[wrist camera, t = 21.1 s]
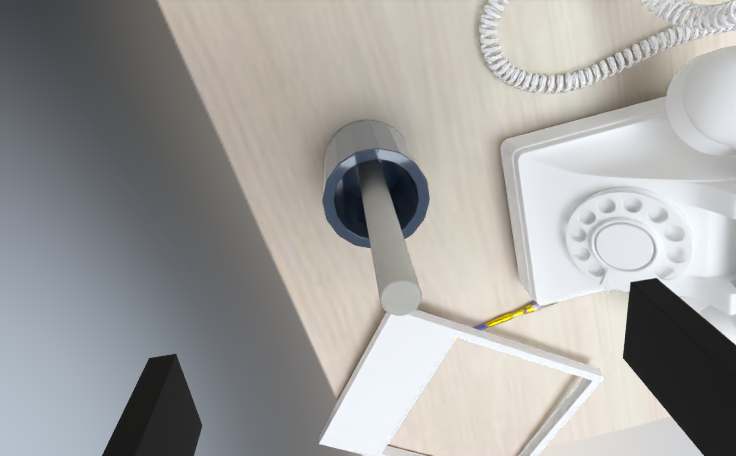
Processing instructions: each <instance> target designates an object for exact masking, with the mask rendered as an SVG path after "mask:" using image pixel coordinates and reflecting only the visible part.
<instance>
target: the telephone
mask: <svg viewBox="0 0 736 456" xmlns="http://www.w3.org/2000/svg"><path fill="white" fill-rule="evenodd" d="M488 1H489V3H490V4H492V5H489V4H486V5H485V6H484V9H483V11H484V12H485V13H487V14H483V15H481V19H480V21H481V22H482V23H484V24H482V25H480V26H479V32H480V33H482V35H480V36H479V39H480V43H483V44H482V45H481V50H482V52H483V53H485V54H484V59H485V61H486V62H488V64H487V65H488V67H489V69H492V72H493V74H494V75H495V76H498V78H499V79H500V80H503V81H504V83H506V84H510V86H512V87H517V89H520V90H525V91H527V92H532V91H533V92H534V93H543V94H549V93H550V92H551V93H552V94H557V93H559V92H561V93H566V92H569V91H575V90H576V89H582V88H583V87H587V86H590V85H591V84H595V83H597V82H599V80H604V79H606V78H607V77H611V76H613V75H614V74H615V73H619V72H621V71H623V69H627V68H629V67H631V66H632V64H633V65H635V64H637V63H639V62H640V61H641V60H645V59H647V58H648V57H649V56H653V55H656V53H660V52H662V51H664V50H665V49H669V48H671V47H672V46H677V45H679V44H683V43H685V42H687V41H688V42H689V41H693V40H695V39H699V38H703V37H707V36H710V35H712V34H719V33H721V32H722V33H723V32H727V31H734V30H736V18H735V16H736V0H731V1H728V2H725V3H722V4H716V5H699V4H693V3H689V2H686V1H684V0H675V3H674V4H673V5H672V6H671V7H670V8H669V9H668V7H669V5H670V3H671V1H673V0H666V1H664V2H663V3H662V4H661V5H660V6H659V8H658V9H657V10H656V12H655V15H656V16H658V17H660V16H662V15H663V14H664V13H665V11H666V10H667V9H668V10H667V11H666V13H665V15H664V17H663V20H665V21H667V22H668V21H670V20H671V19H672V20H671V23H672V24H674V25H679V24H680V27H679V26H675V27H673V28H672V29H667V30H665V32H664V33H663V32H660V33H657V35H656V37H655V36H651V37H649V38H648V42H649V43H648V42H647V40H643V41H641V42H640V47H641V49H642V51H643V52H644V54H645V57H642V53H641V49H640V47H639V45H638V44H634V45H632V52H633V54H634V55H635V57H636V58H637V61H634V60H633V55H632V52H631V50H630V49H629V48H626V49H625V50H624V51H623V53H624V56H625V58H626V60H627V61H628V62H629V63H628V65H626V64H625V61H624V57H623V55H622V54H621V53H620V52H619V53H617V54H615V58H616V61H617V62H618V64H619V65H620V70H619V69H617V68H616V62H615V60H614V58H613V57H612V56H611V57H609V58H607V62H608V65H609V67H610V68H611V69H612V73H609V72H608V67H607V64H606V62H605V61H604V60H602V61H600V62H599V66H600V68H601V70H602V72H603V73H604V77H602V76H600V70H599V67H598V65H597V64H594V65H592V71H593V73H594V75H595V77H596V80H593V76H592V71H591V69H590V68H589V67H587V68H585V70H584V71H585V74H584V72H583V70H579V71H578V75H577V73H576V72H573V73H572V74H570V73H568V74H566V76H565V81H566V85H567V87H566V89H565V90H564V88H563V75H562V74H561V75H557V78H556V83H557V89H556V91H555V90H554V89H553V87H554V83H555V77H554V75H550V76H549V77H548V89H547V91H545V89H544V87H545V85H546V81H547V77H546V75H542V76H541V77H540V81H539V75H538V74H534V76H533V78H532V73H530V72H528V73H527V74H526V71H524V70H522V71H521V72H520V68H516V69H515V66H514V65H511V63H510V62H506V61H507V58H506V57H504V58H502V59H501V60H499V61H498V62H497V63H496V64H495V65H491V64H492V63H493V61H495V60H497V59H499V58H501V57H502V56H503V55H504V53H503V52H499V53H497V54H496V55H494V56H493V57H488V56H489V55H490V54H491V53H492V52H495V51H498V50H500V49H501V46H500V45H497V46H495V47H493V48H485V47H487V46H488V45H490V44H492V43H496V42H499V38H494V39H484V38H486V37H488V36H491V35H495V34H498V33H499V31H498V30H487V29H484V28H488V27H495V26H499V23H497V22H493V21H490V20H488V19H500V18H501V16H500V15H498V14H496V13H495V12H493V11H491V10H495V11H499V12H503V11H504V8H503V7H502V6H501V5H499V4H498V3H497V2H499V3H502V4H504V5H507V4H508V3H509V1H508V0H488ZM647 1H648V0H640V2H639V4H641V5H642V6H643V5H645V4H646V3H647ZM660 1H661V0H653V1H652V2H651V3H650V4H649V5H648V7H647V9H648V10H649V11H653V10H654V9H655V8H656V6H657V5H658V4H659V2H660ZM681 3H683V5H681V6H680V4H681ZM728 5H729V6H728ZM679 6H680V7H679ZM688 6H689V7H688ZM696 7H697V8H696ZM733 8H734V10H735V11H734V12H733ZM682 9H683V10H682ZM714 9H715V10H714ZM681 10H682V12H681V14H680V16H679V18H678V19H677V16H678V14H679V13H680V11H681ZM690 10H691V14H690V16H689V18H688V21H687V22H686V23H684V21H685V18H686V16H687V14H688V12H689V11H690ZM698 10H699V11H700V12H699V14H698V15H697V18H696V20H694V18H695V15H696V13H697V11H698ZM706 10H708V11H707V12H706V14H705V11H706ZM713 10H714V11H713ZM725 11H726V13H725ZM676 19H677V20H676ZM693 20H694V21H693ZM702 23H703V24H704V27H702ZM693 24H694V26H693ZM711 25H713V27H711ZM720 25H721V26H720ZM732 27H733V29H732ZM684 28H685V30H686V34H685V31H684ZM716 29H717V30H718V31H717V32H715V31H716ZM724 29H726V30H724ZM676 30H677V32H678V38H677V36H676ZM694 30H695V32H694ZM708 31H709V34H707V32H708ZM668 33H669V35H670V38H669V35H668ZM699 33H700V34H701V36H698V35H699ZM690 35H691V36H692V38H691V39H690V38H689V37H690ZM661 39H662V40H661ZM682 39H684V40H683V41H682ZM674 41H675V42H677V43H676V44H674ZM667 43H668V44H669V46H666V45H667ZM658 44H659V45H660V47H661V50H659V49H658V48H659V45H658ZM649 45H650V46H649ZM650 47H651V49H652V50H653V51H654V52H653V53H650ZM503 64H504V65H503ZM502 65H503V66H502ZM510 65H511V66H510ZM501 66H502V67H501ZM499 67H501V69H500V71H499V72H496V70H497V68H499ZM514 69H515V70H514ZM519 72H520V73H519ZM503 73H505V74H504V77H501V75H502V74H503ZM525 74H526V76H525ZM510 75H511V77H510V80H509V81H507V78H508V77H509V76H510ZM585 75H586V77H587V79H588V81H589V82H588V84H587V83H586V82H585ZM517 76H518V77H517ZM524 77H525V79H524ZM516 78H517V81H516V83H515V84H513V81H514V80H515V79H516ZM531 78H532V81H531ZM578 78H579V80H578ZM523 79H524V84H523V86H522V87H520V84H521V82H522V81H523ZM530 81H531V88H530V89H528V85H529V83H530ZM538 81H539V89H538V90H536V86H537V84H538ZM579 81H580V82H581V86H579V85H578V84H579ZM572 82H573V85H574V86H575V87H574V89H573V88H572ZM500 150H501V158H502V165H503V171H504V178H505V185H506V192H507V198H508V205H509V212H510V219H511V225H512V232H513V239H514V245H515V252H516V259H517V266H518V272H519V279H520V282H521V284H522V285H523V286H524V288H525V289H526V291H527V292H528V294H529V295H530V297H531V298H532V299H533V300H535V301H536V302H537V304H538V305H540V306H544V305H548V304H552V303H556V302H560V301H564V300H568V299H572V298H576V297H580V296H584V295H588V294H592V293H596V292H599V291H603V290H609V291H612V290H619V291H624V292H630V282H634V281H640V280H646V279H653V278H657V279H658V280H660V281H661V282H662V283H663V284H664V285H666V286H667V287H668V288H669V289H670V290H671V291H673V292H674V293H675V294H676V295H677V296H679V297H680V298H681V299H682V300H683V301H684V302H686V303H687V304H688V305H689V306H690V307H692V308H693V309H694V310H695V311H696V312H698V313H699V314H700V315H701V316H702V317H703V318H705V319H706V320H707V321H708V322H709V323H711V324H712V325H713V326H714V327H715V328H716V329H718V330H719V331H720V332H721V333H722V334H724V335H725V336H726V337H727V338H728V339H730V340H731V341H732V342H733V343H734V344H735V345H736V46H730V47H725V48H721V49H718V50H715V51H712V52H709V53H706V54H703V55H700V56H698V57H695V58H694V59H692V60H690V61H689V62H687V63H686V64H685V65H684V66H682V67H681V68H680V70H679V71H678V72H677V73H676V75H675V76H674V78H673V79H672V81H671V83H670V85H669V88H668V91H667V94H666V96H665V97H661V98H657V99H654V100H650V101H646V102H642V103H639V104H635V105H631V106H627V107H624V108H620V109H616V110H612V111H609V112H605V113H601V114H597V115H594V116H590V117H586V118H582V119H579V120H575V121H571V122H568V123H564V124H560V125H556V126H553V127H549V128H545V129H541V130H538V131H534V132H530V133H527V134H523V135H519V136H516V137H512V138H509V139H506V140H504V141H503V142H502V144H501V148H500Z"/></svg>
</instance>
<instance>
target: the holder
mask: <svg viewBox="0 0 736 456" xmlns="http://www.w3.org/2000/svg"><path fill="white" fill-rule="evenodd" d="M371 160H376V161H377V162H378V163H379V164H380V166H381V168H382V171H383V175H384V178H385V181H386V184H387V187H388V190H389V193H390V196H391V200H392V203H393V206H394V209H395V212H396V215H397V218H398V221H399V224H400V228H401V231H402V234H403V237H404V239H406V238H407V237H409V236H411V235H412V234H413V233H414V232H415V230H416V229H417V228H418V227H419V225H420V224H421V223H422V222H423V220H424V218H425V215H426V212H427V208H428V205H429V199H430V197H429V190H428V182H427V179H426V177H425V176H424V174H423V172H422V170H421V168H420V167H419V165H418V163H417V161H416V159H415V158H414V156H413V154H412V152H411V150H410V149H409V147H408V145H407V144H406V142H405V140H404V139H403V137H402V136H401V135H400V134H399V133H398V132H397V131H396V130H395V129H394V128H393V127H391V126H389V125H388V124H385V123H383V122H380V121H375V120H361V121H356V122H353V123H350V124H348V125H346V126H345V127H343V128H342V129H340V130H339V131H338V132H337V133H336V134H335V135H334V136H333V138H332V139H331V141H330V142H329V144H328V146H327V149H326V152H325V158H324V165H323V201H322V202H323V206H324V211H325V215H326V219H327V221H328V222H329V224H330V225H331V226H332V228H333V229H334V230H335V232H336V233H337V234H338V235H339V236H340V237H342V238H343V239H345V240H347V241H348V242H350V243H352V244H354V245H356V246H361V247H367V248H371V245H370V240H369V234H368V228H367V222H366V217H365V211H364V205H363V199H362V194H361V188H360V182H359V177H358V166H359V164H360V163H361V162H365V161H371Z"/></svg>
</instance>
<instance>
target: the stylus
mask: <svg viewBox="0 0 736 456" xmlns="http://www.w3.org/2000/svg"><path fill="white" fill-rule="evenodd" d="M358 177H359V182H360V188H361V194H362V199H363V205H364V211H365V217H366V222H367V228H368V234H369V240H370V245H371V251H372V257H373V263H374V268H375V274H376V280H377V286H378V291H379V297H380V302H381V305H382V307H383V308H384V310H385V311H387V312H388V313H390V314H392V315H396V316H403V315H407V314H410V313H412V312H413V311H415V310H416V309H417V307H418V306H419V304H420V302H421V299H422V294H421V290H420V287H419V284H418V281H417V277H416V274H415V271H414V268H413V265H412V262H411V259H410V256H409V253H408V249H407V246H406V243H405V240H404V237H403V234H402V231H401V228H400V224H399V221H398V218H397V215H396V212H395V209H394V206H393V203H392V200H391V196H390V193H389V190H388V187H387V184H386V181H385V178H384V175H383V171H382V168H381V166H380V164H379V163H378V162H377V161H376V160H371V161H365V162H361V163H360V164H359V166H358Z"/></svg>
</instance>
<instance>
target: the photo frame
mask: <svg viewBox="0 0 736 456" xmlns="http://www.w3.org/2000/svg"><path fill="white" fill-rule="evenodd" d="M456 338H458V339H462V340H465V341H468V342H471V343H474V344H477V345H481V346H484V347H487V348H490V349H493V350H497V351H500V352H503V353H506V354H509V355H512V356H516V357H519V358H522V359H525V360H528V361H531V362H535V363H538V364H541V365H544V366H547V367H550V368H554V369H557V370H560V371H563V372H566V373H569V374H573V375H576V376H579V377H582V380H581V381H580V382H579V383H578V384H577V386H576V387H575V388H574V389H573V391H572V392H571V393H570V394H569V395H568V397H567V398H566V399H565V400H564V401H563V403H562V404H561V405H560V406H559V407H558V409H557V410H556V411H555V412H554V413H553V415H552V416H551V417H550V418H549V419H548V421H547V422H546V423H545V424H544V425H543V427H542V428H541V429H540V430H539V431H538V433H537V434H536V435H535V436H534V437H533V439H532V440H531V441H530V442H529V443H528V445H527V446H526V447H525V448H524V449H523V451H522V452H521V453H520V454H519V455H518V456H538V455H539V454H540V452H541V451H542V450H543V449H544V448H545V447H546V445H547V444H548V443H549V442H550V441H551V440H552V438H553V437H554V436H555V435H556V434H557V433H558V431H559V430H560V429H561V428H562V427H563V426H564V424H565V423H566V422H567V421H568V420H569V419H570V417H571V416H572V415H573V414H574V413H575V412H576V410H577V409H578V408H579V407H580V406H581V405H582V403H583V402H584V401H585V400H586V399H587V398H588V396H589V395H590V394H591V393H592V392H593V391H594V389H595V388H596V387H597V386H598V385H599V384H600V382H601V381H602V380H603V379H604V378H605V377H604V375H603V374H602V372H601V370H600V369H599V368H596V367H592V366H589V365H586V364H583V363H580V362H577V361H574V360H571V359H568V358H565V357H561V356H558V355H555V354H552V353H549V352H546V351H543V350H540V349H537V348H534V347H531V346H527V345H524V344H521V343H518V342H515V341H512V340H509V339H506V338H503V337H500V336H496V335H493V334H490V333H487V332H484V331H481V330H478V329H475V328H472V327H469V326H466V325H462V324H459V323H456V322H453V321H450V320H447V319H444V318H441V317H438V316H435V315H432V314H428V313H425V312H422V311H419V310H415V311H413V312H412V313H410V314H407V315H403V316H396V315H392V314H390V313H388V312H386V314H385V316H384V318H383V319H382V321H381V323H380V325H379V327H378V329H377V330H376V332H375V334H374V336H373V338H372V339H371V341H370V343H369V345H368V347H367V349H366V350H365V352H364V354H363V356H362V358H361V360H360V361H359V363H358V365H357V367H356V369H355V370H354V372H353V374H352V376H351V378H350V380H349V381H348V383H347V385H346V387H345V389H344V390H343V392H342V394H341V396H340V398H339V400H338V401H337V403H336V405H335V407H334V409H333V411H332V412H331V414H330V416H329V418H328V420H327V421H326V423H325V425H324V427H323V429H322V431H321V432H320V435H319V444H322V445H326V446H330V447H334V448H339V449H342V450H347V451H350V452H355V453H359V454H363V455H367V456H426V455H422V454H418V453H414V452H410V451H406V450H402V449H398V448H394V447H390V446H387V445H388V443H389V442H390V440H391V439H392V437H393V436H394V434H395V432H396V431H397V429H398V428H399V426H400V425H401V423H402V422H403V420H404V419H405V417H406V415H407V414H408V412H409V411H410V409H411V408H412V406H413V405H414V403H415V402H416V400H417V398H418V397H419V395H420V394H421V392H422V391H423V389H424V388H425V386H426V385H427V383H428V381H429V380H430V378H431V377H432V375H433V374H434V372H435V371H436V369H437V368H438V366H439V364H440V363H441V361H442V360H443V358H444V357H445V355H446V354H447V352H448V351H449V349H450V347H451V346H452V344H453V343H454V341H455V340H456Z"/></svg>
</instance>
